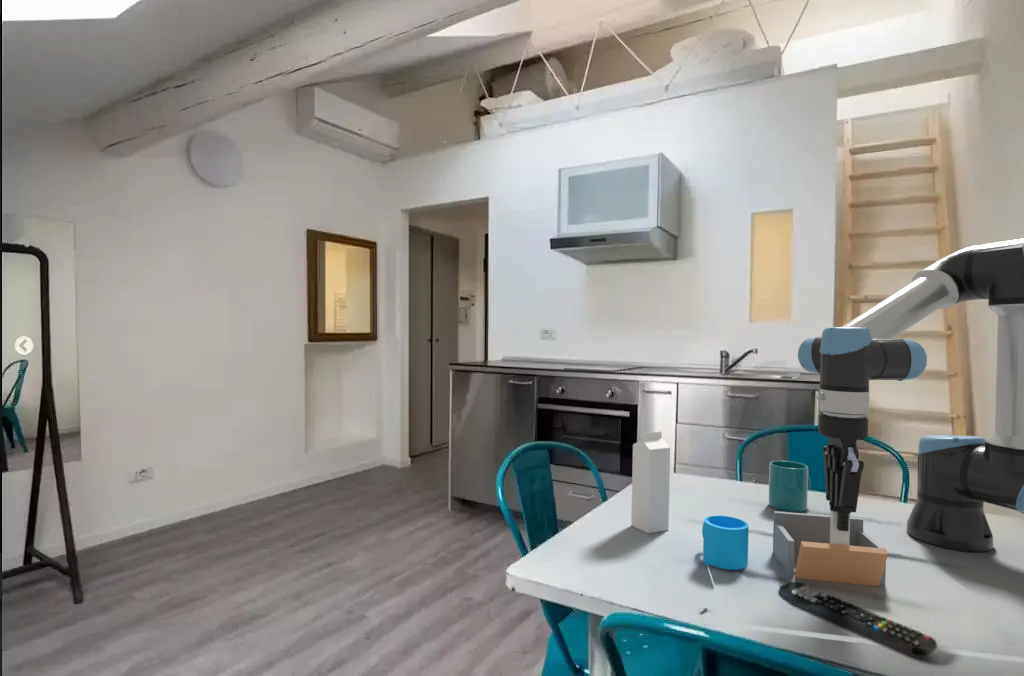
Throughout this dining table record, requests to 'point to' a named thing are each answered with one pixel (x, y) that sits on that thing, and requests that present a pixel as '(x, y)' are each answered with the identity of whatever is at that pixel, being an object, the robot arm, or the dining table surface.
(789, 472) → the cup
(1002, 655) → the dining table surface
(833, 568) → the panel
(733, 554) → the mug
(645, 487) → the milk
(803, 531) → the box
